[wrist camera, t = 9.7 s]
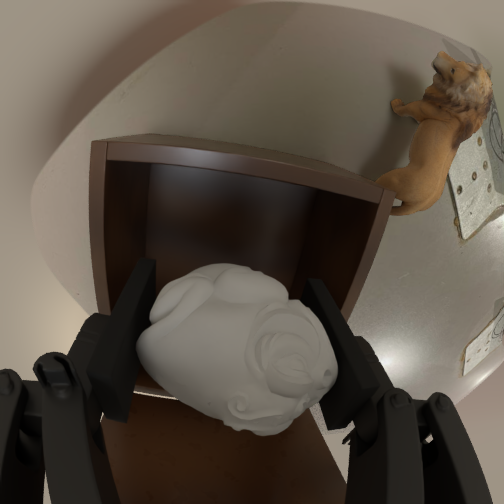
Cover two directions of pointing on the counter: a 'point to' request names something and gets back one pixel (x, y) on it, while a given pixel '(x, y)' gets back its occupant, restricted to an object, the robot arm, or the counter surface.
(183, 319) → the frog figurine
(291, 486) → the chest lid
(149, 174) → the chest
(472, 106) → the lion figurine
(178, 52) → the counter surface
